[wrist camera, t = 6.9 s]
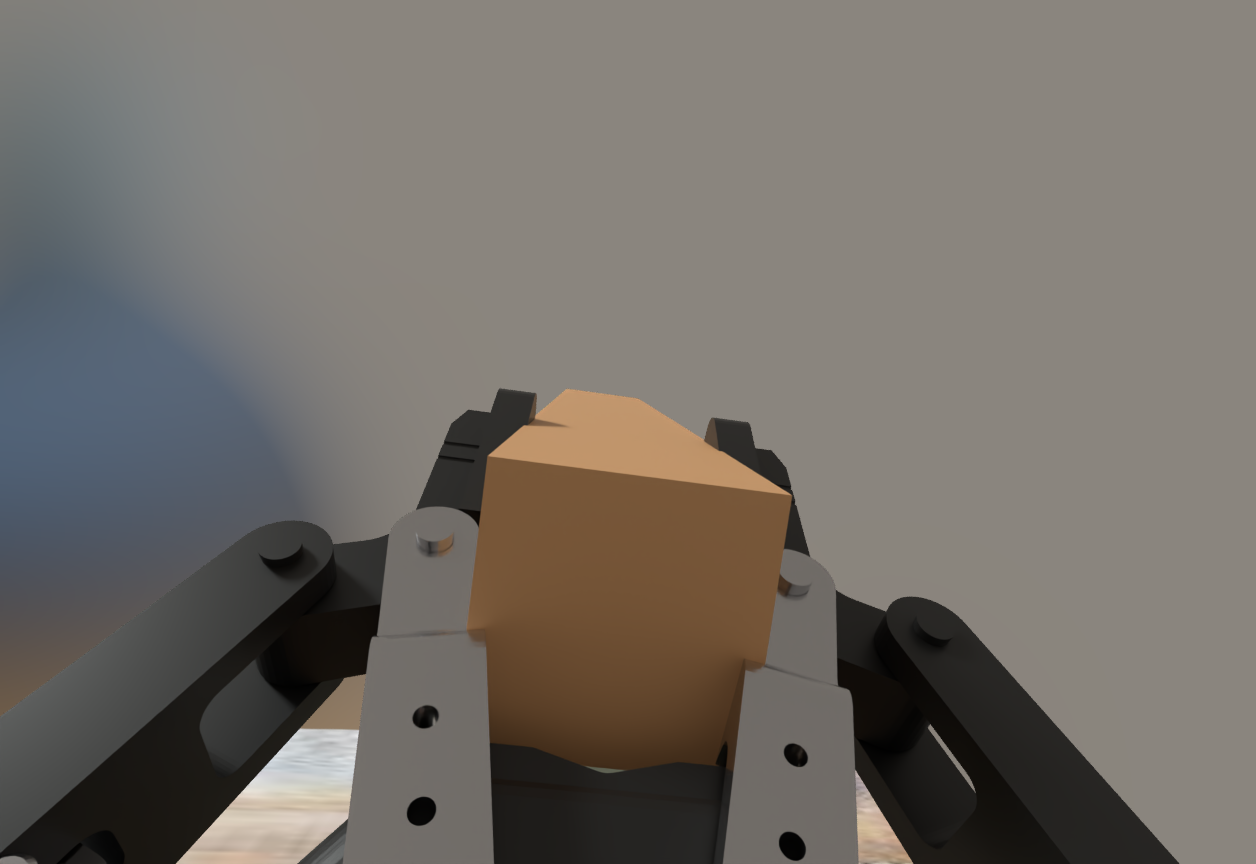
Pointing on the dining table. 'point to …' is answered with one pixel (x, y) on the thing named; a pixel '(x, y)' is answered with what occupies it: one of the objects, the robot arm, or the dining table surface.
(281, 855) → the dining table surface
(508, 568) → the bar
